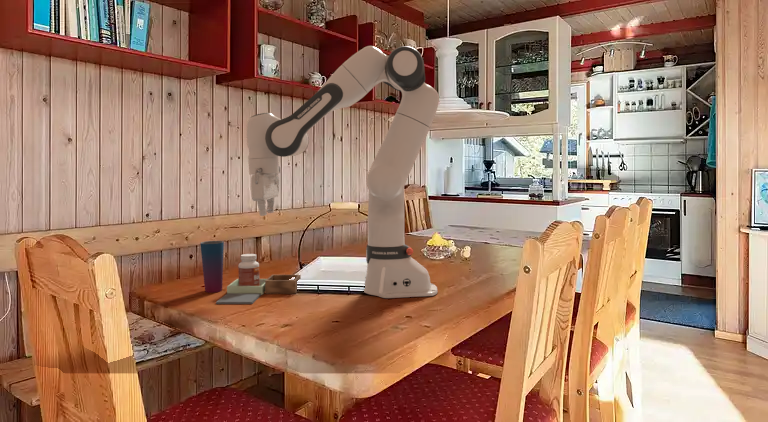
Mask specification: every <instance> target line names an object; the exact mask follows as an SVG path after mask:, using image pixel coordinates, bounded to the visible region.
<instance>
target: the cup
mask: <svg viewBox="0 0 768 422" xmlns="http://www.w3.org/2000/svg"><path fill="white" fill-rule="evenodd" d="M224 243H225V242H224V241H223V240H206V241H200V243H199V244H200V253H201V254H200V255H201V261H202V262H201V263H202V264H201V265H202V274H203V282H204V283H203V284H204V292H205V293H211V294H212V293H220V292H222V291H223V282H224V281H223V279H224V278H223V275H224V249H225V248H224V247H225V245H224Z"/></svg>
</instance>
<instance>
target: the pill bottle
mask: <svg viewBox="0 0 768 422" xmlns="http://www.w3.org/2000/svg"><path fill="white" fill-rule="evenodd" d="M237 270H238V279H239V286H260V279H261V278H260V263H259V261H257V254H255V253H245V254H240V262H239V263H238V269H237Z"/></svg>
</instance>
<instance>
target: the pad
mask: <svg viewBox="0 0 768 422" xmlns="http://www.w3.org/2000/svg"><path fill="white" fill-rule="evenodd" d="M261 296H262V295H261V293H227V292H226V294H225V295H223V296H222V297H220V298H219V299H217V301H215V304H216V305H253V304H254V303H255V302H256V301H257V300H258V299H259V298H260V297H261Z"/></svg>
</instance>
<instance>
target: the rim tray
mask: <svg viewBox="0 0 768 422" xmlns="http://www.w3.org/2000/svg"><path fill="white" fill-rule="evenodd" d="M267 279H268V278H260V286H239V278H236V279H235V280H233V281H232V282H231V283H230V284H228V285H227V286H226V294H227V293H261V296H263V295H264V294H266V293H265V281H266V280H267Z"/></svg>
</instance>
